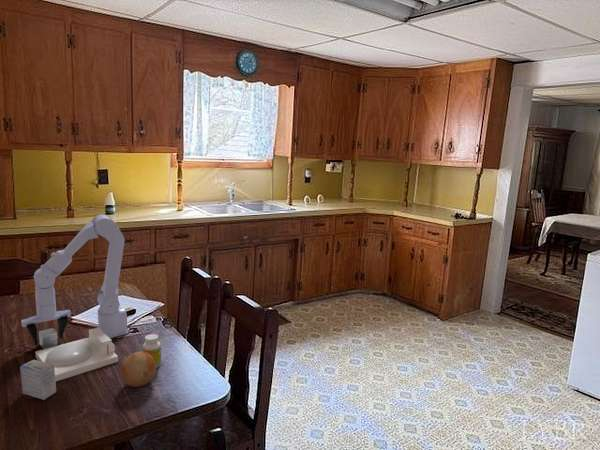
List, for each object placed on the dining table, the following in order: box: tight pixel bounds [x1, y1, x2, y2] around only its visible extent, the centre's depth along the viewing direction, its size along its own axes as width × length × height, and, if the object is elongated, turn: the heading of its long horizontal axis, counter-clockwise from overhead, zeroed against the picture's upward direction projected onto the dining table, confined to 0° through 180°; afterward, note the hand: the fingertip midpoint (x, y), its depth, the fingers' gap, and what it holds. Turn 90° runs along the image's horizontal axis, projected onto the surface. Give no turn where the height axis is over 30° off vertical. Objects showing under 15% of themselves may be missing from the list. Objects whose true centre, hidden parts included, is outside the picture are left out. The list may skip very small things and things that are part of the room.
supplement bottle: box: [142, 333, 162, 368], centre depth 140 cm, size 5×5×10 cm
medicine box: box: [19, 359, 57, 401], centre depth 122 cm, size 8×4×9 cm, turn 71°
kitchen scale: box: [35, 327, 119, 382], centre depth 141 cm, size 19×19×6 cm
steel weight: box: [38, 327, 59, 350], centre depth 149 cm, size 4×4×5 cm
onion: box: [120, 350, 157, 388], centre depth 129 cm, size 10×10×10 cm
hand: (48, 340), depth 149 cm, fingers open, 7 cm apart
